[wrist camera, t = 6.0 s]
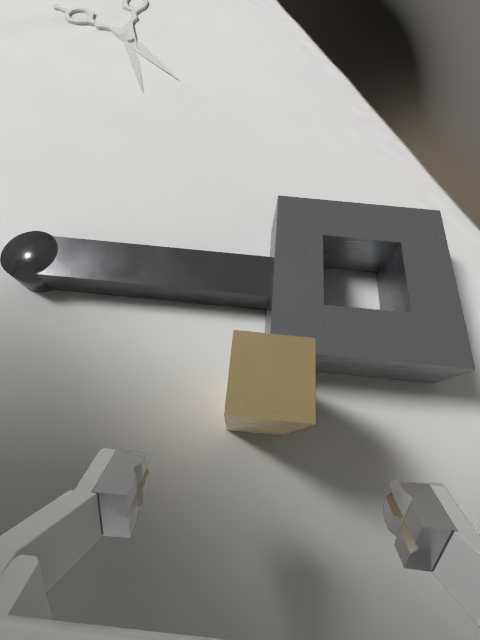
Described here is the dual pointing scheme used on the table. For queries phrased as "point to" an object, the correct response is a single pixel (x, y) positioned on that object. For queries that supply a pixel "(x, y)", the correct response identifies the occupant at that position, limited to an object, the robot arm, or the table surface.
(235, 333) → the bar
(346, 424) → the table surface
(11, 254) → the grey handled square frame
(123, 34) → the scissors
